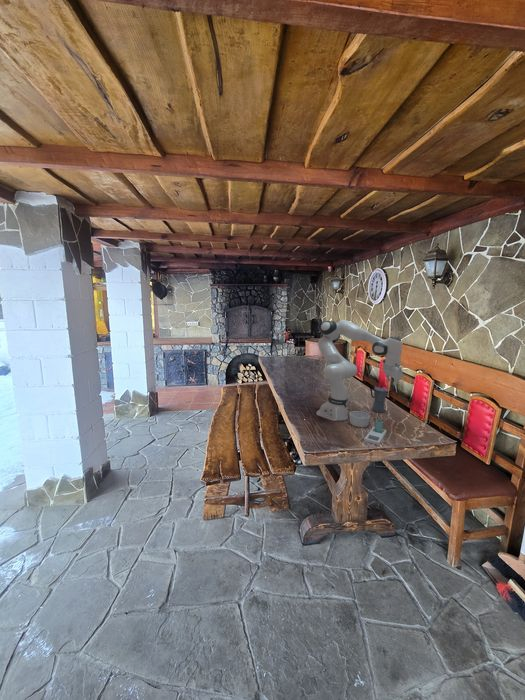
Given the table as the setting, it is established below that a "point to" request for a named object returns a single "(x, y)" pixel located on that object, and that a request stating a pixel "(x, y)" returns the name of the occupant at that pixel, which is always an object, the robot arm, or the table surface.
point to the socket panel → (375, 436)
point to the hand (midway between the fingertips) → (391, 383)
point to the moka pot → (379, 398)
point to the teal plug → (378, 425)
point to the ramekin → (359, 418)
